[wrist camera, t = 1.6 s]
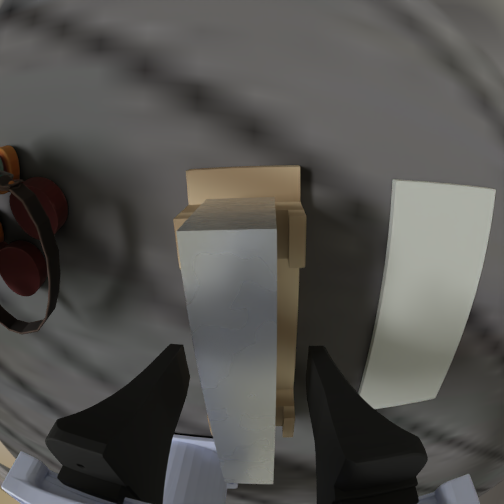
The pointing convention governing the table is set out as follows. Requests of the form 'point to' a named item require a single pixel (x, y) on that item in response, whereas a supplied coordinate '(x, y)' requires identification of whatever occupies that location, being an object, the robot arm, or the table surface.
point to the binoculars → (37, 226)
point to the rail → (235, 327)
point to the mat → (425, 288)
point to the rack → (288, 253)
